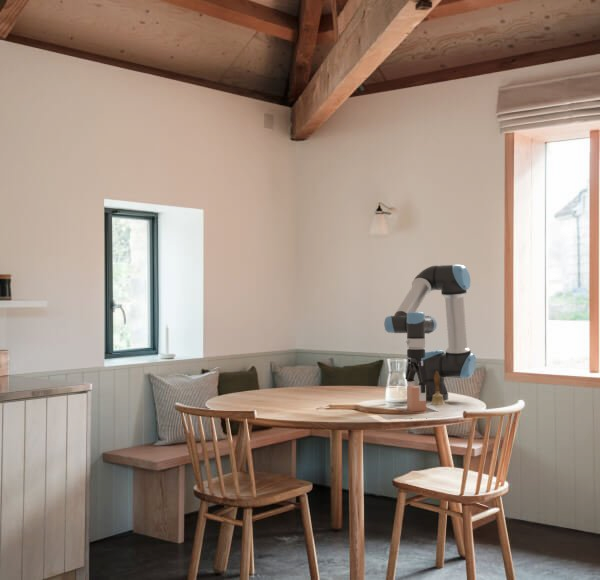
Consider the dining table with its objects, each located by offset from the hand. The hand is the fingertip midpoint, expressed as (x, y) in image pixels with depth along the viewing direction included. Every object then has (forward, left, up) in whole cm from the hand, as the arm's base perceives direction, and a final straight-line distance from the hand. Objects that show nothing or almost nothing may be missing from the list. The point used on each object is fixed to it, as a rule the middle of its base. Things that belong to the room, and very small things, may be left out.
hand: (416, 398), depth 334 cm
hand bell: (-16, -16, -7) cm, 24 cm away
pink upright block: (0, 0, -5) cm, 5 cm away
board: (0, 0, -6) cm, 6 cm away
